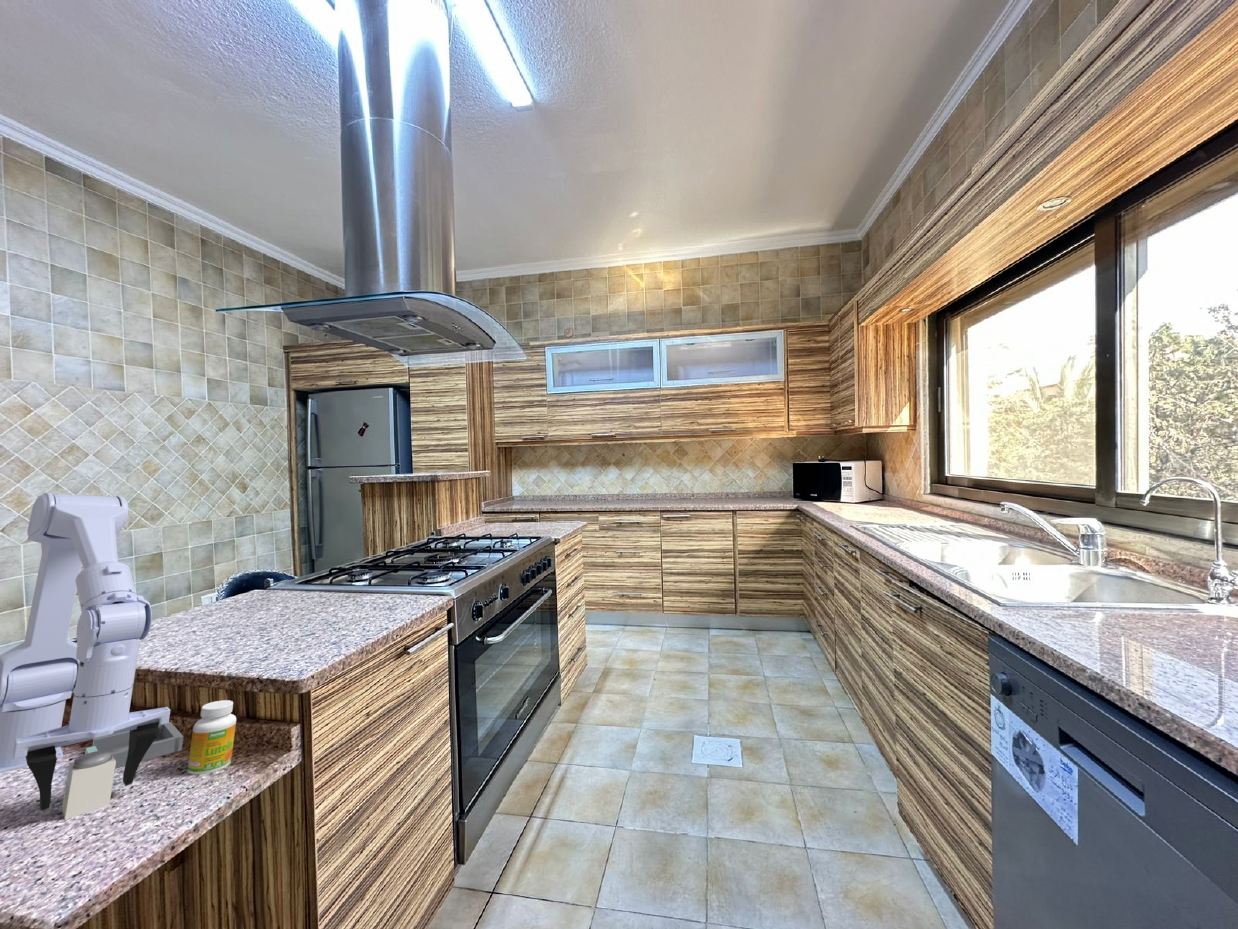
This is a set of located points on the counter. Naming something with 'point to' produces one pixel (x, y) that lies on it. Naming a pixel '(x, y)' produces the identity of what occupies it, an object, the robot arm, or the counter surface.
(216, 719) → the supplement bottle
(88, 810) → the cream block with knob
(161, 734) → the housing
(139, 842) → the counter surface
